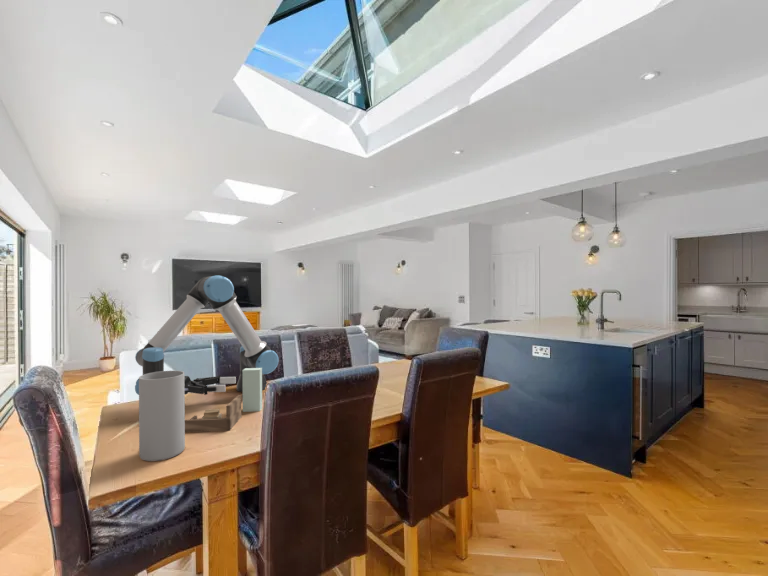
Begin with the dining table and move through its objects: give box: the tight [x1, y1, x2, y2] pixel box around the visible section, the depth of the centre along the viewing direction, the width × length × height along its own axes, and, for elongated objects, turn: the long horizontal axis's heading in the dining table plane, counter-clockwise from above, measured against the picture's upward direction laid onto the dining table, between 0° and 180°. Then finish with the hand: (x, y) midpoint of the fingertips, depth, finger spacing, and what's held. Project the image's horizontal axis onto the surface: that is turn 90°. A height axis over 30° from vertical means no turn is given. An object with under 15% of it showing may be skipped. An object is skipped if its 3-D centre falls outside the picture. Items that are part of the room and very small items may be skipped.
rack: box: [185, 394, 242, 433], centre depth 142 cm, size 14×18×10 cm
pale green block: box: [242, 368, 263, 413], centre depth 159 cm, size 4×7×18 cm, turn 95°
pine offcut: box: [203, 408, 221, 417], centre depth 146 cm, size 4×5×2 cm
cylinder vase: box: [138, 370, 186, 462], centre depth 120 cm, size 12×12×25 cm
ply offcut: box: [201, 413, 223, 419], centre depth 146 cm, size 4×6×2 cm, turn 95°
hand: (230, 384), depth 158 cm, fingers open, 13 cm apart
